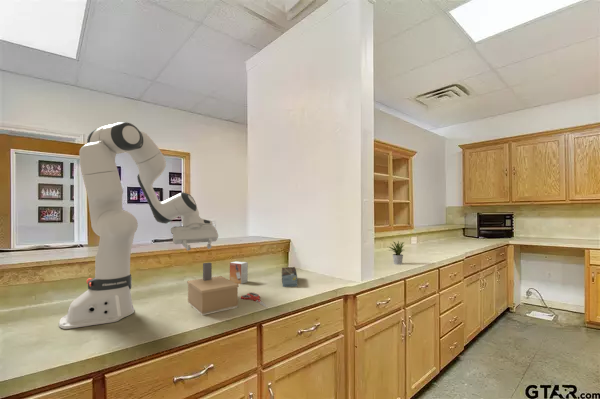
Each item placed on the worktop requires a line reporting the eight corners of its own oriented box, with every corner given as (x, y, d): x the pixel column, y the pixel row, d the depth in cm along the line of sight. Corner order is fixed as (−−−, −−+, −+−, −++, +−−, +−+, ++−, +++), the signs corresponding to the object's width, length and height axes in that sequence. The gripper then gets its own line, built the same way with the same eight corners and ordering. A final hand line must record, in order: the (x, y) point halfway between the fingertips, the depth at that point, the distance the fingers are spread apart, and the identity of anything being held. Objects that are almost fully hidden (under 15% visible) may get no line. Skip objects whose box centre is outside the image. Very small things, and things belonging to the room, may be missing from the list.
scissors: (267, 310, 115) (267, 306, 115) (238, 298, 130) (238, 295, 130) (282, 305, 120) (282, 301, 120) (252, 294, 135) (252, 291, 135)
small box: (229, 282, 156) (229, 262, 157) (236, 280, 161) (236, 260, 162) (241, 284, 153) (241, 263, 153) (247, 281, 158) (247, 262, 158)
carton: (202, 315, 109) (202, 293, 109) (188, 302, 123) (188, 283, 123) (237, 307, 117) (237, 287, 117) (220, 296, 131) (220, 278, 132)
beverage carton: (281, 287, 147) (281, 274, 147) (281, 278, 166) (281, 266, 166) (297, 287, 148) (297, 273, 148) (295, 278, 167) (295, 266, 167)
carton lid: (201, 293, 108) (201, 271, 109) (187, 283, 123) (187, 264, 124) (238, 286, 117) (238, 266, 117) (220, 278, 132) (220, 260, 132)
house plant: (395, 260, 217) (394, 238, 218) (412, 263, 207) (412, 240, 207) (383, 263, 208) (383, 240, 209) (401, 266, 198) (401, 241, 198)
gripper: (171, 222, 134) (176, 246, 126) (215, 220, 146) (222, 242, 138) (168, 231, 137) (173, 255, 129) (211, 229, 150) (219, 250, 142)
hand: (199, 248), depth 134 cm, fingers open, 8 cm apart
